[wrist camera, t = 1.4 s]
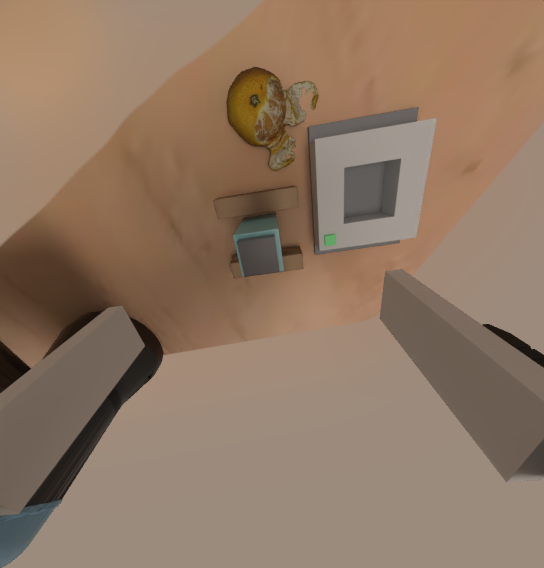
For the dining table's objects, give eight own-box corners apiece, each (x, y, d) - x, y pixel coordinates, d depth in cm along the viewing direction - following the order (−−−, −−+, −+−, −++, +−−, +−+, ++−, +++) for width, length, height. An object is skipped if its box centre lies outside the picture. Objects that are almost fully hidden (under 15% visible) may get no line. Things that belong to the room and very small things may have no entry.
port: (314, 253, 28) (320, 264, 25) (307, 127, 22) (314, 118, 18) (397, 241, 27) (415, 251, 24) (415, 108, 21) (444, 94, 18)
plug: (250, 248, 28) (241, 281, 19) (244, 217, 26) (230, 238, 17) (280, 243, 27) (284, 275, 19) (275, 212, 26) (278, 231, 17)
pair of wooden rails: (236, 269, 29) (233, 278, 26) (219, 197, 25) (213, 200, 22) (300, 260, 28) (303, 268, 26) (293, 185, 24) (296, 186, 22)
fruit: (288, 176, 24) (291, 176, 21) (219, 145, 23) (210, 139, 19) (321, 89, 21) (331, 72, 17) (242, 45, 19) (236, 18, 16)
